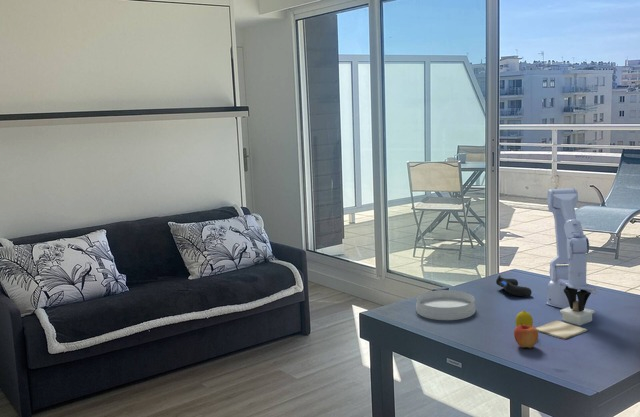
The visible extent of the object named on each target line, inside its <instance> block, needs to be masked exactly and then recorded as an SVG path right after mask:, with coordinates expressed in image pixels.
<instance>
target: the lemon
mask: <svg viewBox="0 0 640 417" xmlns="http://www.w3.org/2000/svg"><path fill="white" fill-rule="evenodd" d="M515 317H516V318H515V326H516V327H517V326H519V325H521V323H522V325H530V326H533V327H534V320H533V316H532V315H531V313H530V312H527V311H526V310H522V311H520V312H518V313H517V314H516V316H515ZM516 327H515V328H516Z"/></svg>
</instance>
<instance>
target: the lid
mask: <svg viewBox="0 0 640 417" xmlns="http://www.w3.org/2000/svg"><path fill="white" fill-rule="evenodd" d="M559 313H561V314H562V313H564V314H568V315H571V316H575V317H578V318H582V317H584V316H587V315H590V314H592V315H593V314H594V313H595V310H593V309H590V308H586V307H585V308H584V310H583V311H579V309H578V300H576V301H573V309H570V307H568V308H565V309H563V308H561V309H560V310H559Z"/></svg>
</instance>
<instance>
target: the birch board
mask: <svg viewBox="0 0 640 417" xmlns="http://www.w3.org/2000/svg"><path fill="white" fill-rule="evenodd" d="M535 328H536V329H537V331H538V333H542V334H546V335H549V336H552V337H555V338H558V339H560V340H563V341H565V340H567V339H570V338H572V337H575V336H577V335H580V334H583V333H586V332H588V329H587V328H584V327H581V326H579V325H576V324H572V323H569V322H565V321H560V320H553V321H550V322H548V323H545V324H542V325H539V326H537V327H535Z"/></svg>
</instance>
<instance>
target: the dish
mask: <svg viewBox="0 0 640 417" xmlns="http://www.w3.org/2000/svg"><path fill="white" fill-rule="evenodd" d="M475 300H476V299H475V296H473V295H472V294H470V293H468V292H465V291H460V290H454V289H453V290H452V289H438V290H432V291H431V290H430V291H425V292H422V293H420V294H419V295H418V296H416V304H415V308H416V309H415V311H416V313H417V315H419V316H421V317H423V318H426V319H431V320H436V321H437V320H438V321H455V320H462V319H463V320H464V319H466V318H469V317H471V316H473V315H475V313H476V303H475V302H476V301H475Z"/></svg>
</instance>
